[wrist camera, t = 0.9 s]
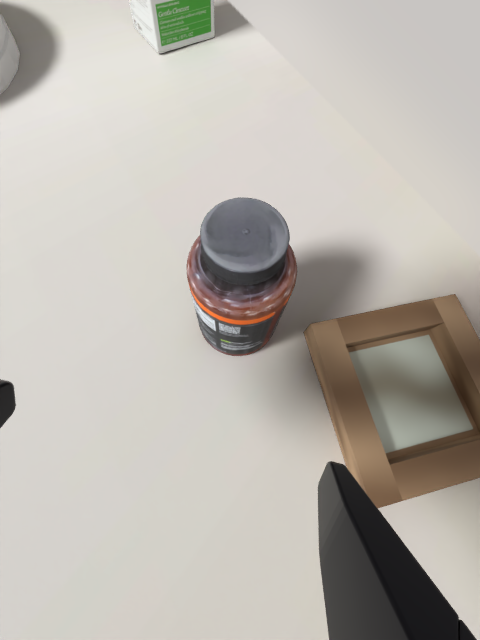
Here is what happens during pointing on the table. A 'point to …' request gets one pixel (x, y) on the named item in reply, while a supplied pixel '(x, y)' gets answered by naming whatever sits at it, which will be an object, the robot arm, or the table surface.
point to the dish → (7, 56)
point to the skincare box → (173, 22)
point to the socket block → (403, 396)
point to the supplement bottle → (241, 274)
